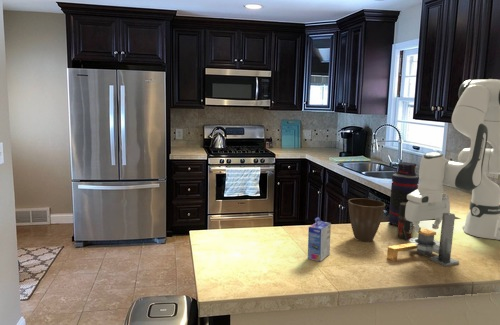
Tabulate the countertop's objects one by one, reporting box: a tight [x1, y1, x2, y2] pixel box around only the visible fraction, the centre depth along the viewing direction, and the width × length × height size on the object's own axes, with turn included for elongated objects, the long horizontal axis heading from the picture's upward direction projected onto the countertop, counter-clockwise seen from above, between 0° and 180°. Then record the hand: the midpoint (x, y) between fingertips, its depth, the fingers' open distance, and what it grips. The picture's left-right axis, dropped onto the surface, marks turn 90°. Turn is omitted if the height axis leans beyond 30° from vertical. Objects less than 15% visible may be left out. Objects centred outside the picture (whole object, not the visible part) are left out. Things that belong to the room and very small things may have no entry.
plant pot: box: [348, 198, 386, 243], centre depth 174 cm, size 15×15×16 cm
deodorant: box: [396, 202, 414, 241], centre depth 177 cm, size 6×6×15 cm
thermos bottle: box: [388, 161, 420, 227], centre depth 196 cm, size 14×12×30 cm
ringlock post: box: [386, 212, 460, 267], centre depth 153 cm, size 23×18×18 cm
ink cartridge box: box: [307, 216, 332, 262], centre depth 152 cm, size 10×6×14 cm, turn 149°
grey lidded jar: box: [416, 228, 437, 256], centre depth 159 cm, size 5×5×9 cm
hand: (426, 230), depth 159 cm, fingers open, 8 cm apart
